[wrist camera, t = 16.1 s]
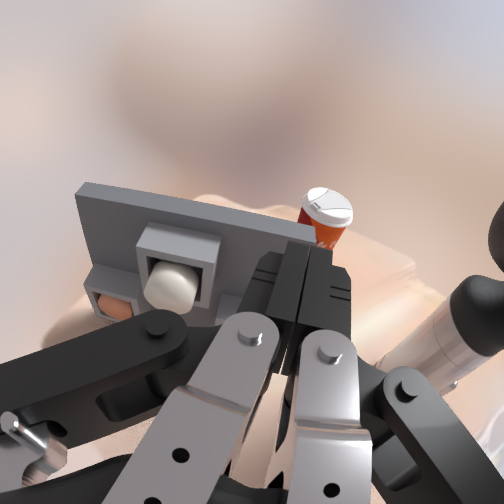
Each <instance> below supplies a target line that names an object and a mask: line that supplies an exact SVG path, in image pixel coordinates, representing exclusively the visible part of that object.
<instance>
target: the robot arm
mask: <svg viewBox="0 0 504 504" xmlns="http://www.w3.org/2000/svg"><path fill="white" fill-rule="evenodd" d="M488 245H489V251H490V253H491V256H492V258H493V259H494V261H495V262H496V264H497V265H498V267H499V268H500V269H501V270H502V271H503V272H504V202H503V203H502V205H501V206H500V207H499V209H498V211H497V212H496V214H495V216H494V218H493V220H492V223H491V226H490V230H489V234H488ZM309 246H310V245H309V244H304V243H300V242H295V241H291V240H288V243H287V246H286V249H285V253H284V254H281V253H276V252H272V251H269V252H268V253H266V254H265V255H264V256H262V257H261V258H260V259H259V261H258V264H257V266H256V268H255V271H254V273H253V275H252V278H251V280H250V282H249V285H248V287H247V289H246V291H245V294H244V296H243V298H242V301H241V303H240V305H239V308H238V310H237V312H236V314H234V315H232V316H230V317H229V318H227V319H226V320H225V322H224V323H223V324H221V325H218V326H213V327H187V325H186V323H185V321H184V319H183V318H182V317H181V316H180V315H178V314H177V313H175V312H173V311H170V310H165V309H155V310H150V311H147V312H144V313H142V314H139V315H136V316H134V317H131V318H128V319H126V320H123V321H120V322H118V323H115V324H112V325H109V326H107V327H104V328H101V329H99V330H96V331H93V332H90V333H88V334H85V335H82V336H79V337H77V338H74V339H71V340H68V341H65V342H63V343H60V344H57V345H54V346H51V347H49V348H46V349H43V350H40V351H37V352H34V353H31V354H29V355H26V356H23V357H20V358H17V359H14V360H11V361H8V362H5V363H3V364H0V504H370V495H371V482H372V483H373V485H374V486H375V488H376V489H377V491H378V492H379V493H380V495H381V496H382V498H383V499H384V501H385V502H386V504H504V479H503V478H502V477H501V475H500V474H499V472H498V471H497V469H496V468H495V467H494V465H493V464H492V462H491V461H490V460H489V458H488V457H487V455H486V454H485V453H484V451H483V450H482V449H481V447H480V446H479V445H478V443H477V442H476V441H475V439H474V438H473V437H472V435H471V434H470V433H469V431H468V430H467V429H466V427H465V426H464V425H463V424H462V422H461V421H460V420H459V418H458V417H457V416H456V415H455V413H454V412H453V411H452V409H451V408H450V407H449V406H448V404H447V403H446V402H445V401H444V399H443V398H442V396H444V395H445V394H447V393H449V392H451V391H452V390H454V389H455V388H456V386H457V382H458V380H460V379H461V378H463V377H464V376H466V375H467V374H469V373H470V372H472V371H473V370H475V369H476V368H477V367H479V366H480V365H482V364H483V363H485V362H486V361H487V360H489V359H490V358H491V357H493V356H494V355H495V354H497V353H498V352H499V351H501V350H503V349H504V281H498V280H494V279H491V278H488V277H485V276H481V275H472V276H469V277H468V278H466V279H465V280H464V281H463V282H462V283H461V284H460V285H459V286H458V287H457V288H456V289H455V290H454V291H453V293H452V294H451V295H450V296H449V297H448V298H447V299H446V300H445V301H444V302H443V303H442V304H441V305H440V306H439V307H438V308H437V309H436V310H435V311H434V312H433V313H432V314H431V315H430V316H429V317H428V318H427V319H426V320H425V321H424V322H423V323H422V324H421V325H420V326H419V327H418V328H417V329H415V330H414V331H413V332H412V333H411V334H410V335H409V336H408V337H407V338H406V339H404V340H403V341H402V342H401V343H400V344H399V345H398V346H396V347H395V348H394V349H393V350H392V351H391V352H389V353H388V354H386V355H385V356H384V357H383V358H382V359H381V360H380V361H379V362H378V363H377V364H376V366H375V367H373V366H371V365H369V364H368V363H366V362H365V361H363V360H362V359H361V358H360V357H359V356H358V355H357V351H356V348H355V346H354V344H353V343H352V342H351V279H350V277H349V275H348V273H347V271H346V270H345V268H342V267H338V266H333V265H332V255H333V250H331V249H326V248H322V247H318V246H313V245H311V248H310V252H309V256H308V251H309ZM307 257H308V260H307ZM306 262H307V264H306ZM287 345H288V346H287ZM286 349H287V351H286ZM285 352H286V355H285ZM284 355H285V359H284V363H283V367H282V371H281V374H282V375H286V376H288V379H287V383H286V387H285V390H284V393H283V395H282V399H281V404H280V411H279V417H278V423H277V429H276V435H275V441H274V446H273V452H272V456H271V460H270V463H269V466H268V469H267V473H266V477H265V482H264V487H263V488H260V489H256V488H249V487H247V486H244V485H243V484H241V483H239V482H237V481H235V480H233V479H231V478H230V476H231V473H232V471H233V469H234V467H235V464H236V462H237V459H238V457H239V454H240V452H241V449H242V446H243V444H244V442H245V439H246V437H247V435H248V432H249V430H250V427H251V425H252V423H253V420H254V418H255V415H256V413H257V410H258V408H259V405H260V403H261V400H262V398H263V395H264V393H265V392H266V390H267V389H268V386H269V383H270V380H271V376H272V373H277V374H279V371H280V368H281V365H282V362H283V358H284ZM156 415H157V416H156ZM154 416H156V417H155V419H154V421H153V422H152V424H151V425H150V427H149V429H148V430H147V432H146V434H145V435H144V437H143V438H142V440H141V442H140V443H139V445H138V446H137V448H136V450H135V451H134V453H133V454H126V455H121V456H117V457H113V458H110V459H107V460H105V461H102V462H100V463H97V464H95V465H92V466H89V467H87V468H84V469H81V470H78V471H76V472H73V473H70V474H67V475H64V476H61V477H58V478H55V479H51V480H48V481H46V479H47V478H48V477H49V476H50V475H51V474H52V473H54V472H56V471H58V470H60V469H61V468H62V467H64V466H65V465H66V463H67V449H70V448H74V447H77V446H80V445H82V444H85V443H88V442H91V441H94V440H97V439H99V438H102V437H105V436H108V435H110V434H113V433H115V432H118V431H120V430H123V429H125V428H128V427H130V426H133V425H135V424H138V423H140V422H142V421H145V420H147V419H149V418H152V417H154Z"/></svg>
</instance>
